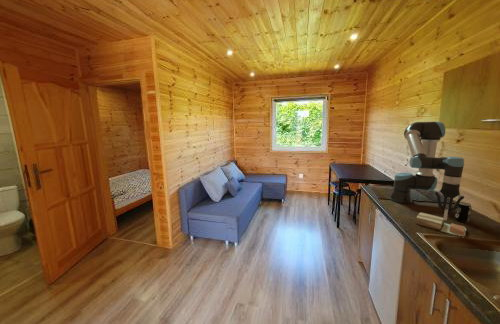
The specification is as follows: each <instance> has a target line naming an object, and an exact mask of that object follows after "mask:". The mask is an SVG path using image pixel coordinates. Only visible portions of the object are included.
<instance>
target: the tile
mask: <svg viewBox="0 0 500 324" xmlns="http://www.w3.org/2000/svg"><path fill="white" fill-rule="evenodd" d="M450 225H451V226H450V229H449V231H450V232H453V233H457V234H461V235H464V231H465V228H466V226H464V225H460V224H455V223H450Z"/></svg>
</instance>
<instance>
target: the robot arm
mask: <svg viewBox="0 0 500 324" xmlns="http://www.w3.org/2000/svg"><path fill="white" fill-rule="evenodd" d="M445 135H446V126H445V124H444V123H443V122H442V121H416V122H413V123H411V124H409V125H407V127H406V128H405V129H404V133H403V136H404V139H405V140H406V141H407V144H408V148H409V150H410V155H411V157H410V158H409V166H410V167H411V168H413V169H418V171H416V172H415V175H414V174H413V173H412V172H397V173H396V174H395V175H394V179H393V181H394V182H393V188H392V189H393V190H392V192H391V194H390V195H389V200H390V201H393V202H395V203H399V204H404V205H405V204H406V205H407V204H413V203H412V202H413V198H412V194H411V190H413V191H414V190H415V191H425V192H432V191H434V190H435V189H436V188H437V185H438V177H437V176H436V175H435V173H434V170H443V171H444V173H443V178H442V185H441V189H440V190H438V191H435V192H434V194H435V196H436V198H437V205H438V208H440V209H441V214H442V215H443V217H442V218H443V220H444V221H447V220H448V217H449V216H451V214H452V212H453V211H455V212H456V208H457V206H458V205H459V203H460V202H462V200H464V199H465V196H464V195H462V194H461V193H460V188H461V181H462V177H463V170H464V166H465V159H464V158H463V157H460V156H448V157H446V156H442V157H436V153H437V147H438V142H439V141H441V139H442V138H444V137H445ZM441 195H442V196H443V202H442V199H441ZM448 198H449V202H448ZM455 198H458V199H457V201H456V202H455V204H454V206H453V202H454V199H455ZM447 202H448V203H449V204H448V208H447Z"/></svg>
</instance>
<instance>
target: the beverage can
mask: <svg viewBox="0 0 500 324" xmlns="http://www.w3.org/2000/svg"><path fill="white" fill-rule="evenodd" d="M471 211H472V204H471V203H468V202H465V201H460V203H459V205H458V206H457V208H456V210H455V214H454V219H455V221H458V222H460V223H466V224H467V223H468V222H469V221H470V217H471V213H472V212H471Z"/></svg>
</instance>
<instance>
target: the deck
mask: <svg viewBox="0 0 500 324" xmlns="http://www.w3.org/2000/svg"><path fill="white" fill-rule="evenodd" d="M444 221H445V220H443V217H442V216H438V215H433V214H429V213H426V212H422V211H421V212H419V213H418V214H417V216H416V217H415V222H414V223H415V224H417V225H420V226H424V227H427V228H431V229H435V230H439V231H441V229H442V227H443V225H444Z"/></svg>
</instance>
